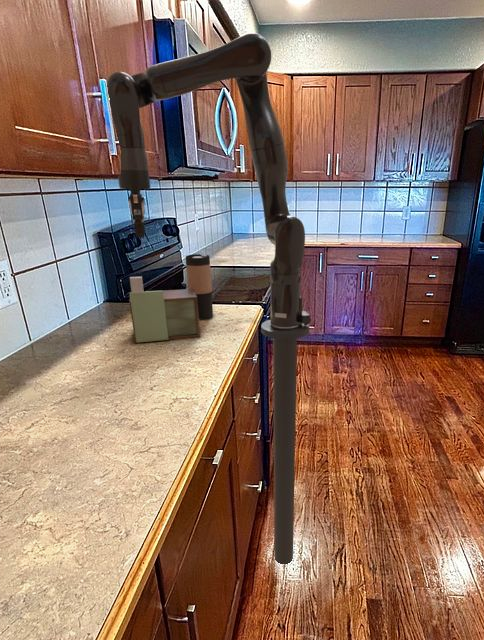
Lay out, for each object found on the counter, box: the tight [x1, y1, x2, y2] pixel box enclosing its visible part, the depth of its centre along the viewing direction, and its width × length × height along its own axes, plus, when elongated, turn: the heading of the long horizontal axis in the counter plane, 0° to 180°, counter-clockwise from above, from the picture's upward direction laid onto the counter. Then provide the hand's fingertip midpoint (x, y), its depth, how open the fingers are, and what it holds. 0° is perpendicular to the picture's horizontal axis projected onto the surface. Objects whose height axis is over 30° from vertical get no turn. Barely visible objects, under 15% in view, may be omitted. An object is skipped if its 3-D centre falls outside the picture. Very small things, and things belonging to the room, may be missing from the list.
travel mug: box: [185, 253, 214, 321], centre depth 137 cm, size 8×8×20 cm
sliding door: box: [129, 275, 169, 343], centre depth 115 cm, size 9×2×18 cm, turn 108°
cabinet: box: [128, 288, 201, 344], centre depth 122 cm, size 18×10×12 cm, turn 108°
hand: (140, 235), depth 112 cm, fingers open, 8 cm apart
